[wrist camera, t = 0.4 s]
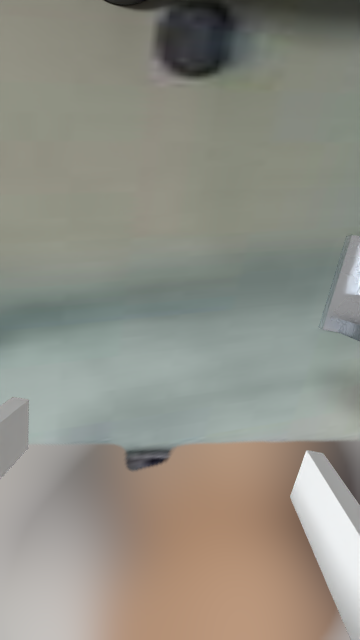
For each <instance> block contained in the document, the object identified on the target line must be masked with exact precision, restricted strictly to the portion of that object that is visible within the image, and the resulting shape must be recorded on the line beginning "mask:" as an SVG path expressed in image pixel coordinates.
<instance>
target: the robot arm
mask: <svg viewBox="0 0 360 640" xmlns="http://www.w3.org/2000/svg"><path fill="white" fill-rule="evenodd" d="M107 1H109V2H112V3H116V4H134V3H139V2H142V1H144V0H107ZM28 420H29V400H28V399H22V398H17V397H12V398H10V399H9V400H8V401H6V402H5V403H4V404H2V405H1V406H0V479H1V478H2V477H3V476H4V475H5V473H6V472H7V471H8V470H9V469H10V468H11V467H12V466H13V465H14V464H15V462H16V461H17V460H18V459H19V458H20V457H21V456H22V454H24V452H25V451H26V450H27V449H28ZM290 498H291V500H292V503H293V505H294V507H295V510H296V512H297V514H298V517H299V519H300V521H301V524H302V526H303V528H304V531H305V533H306V535H307V538H308V540H309V543H310V545H311V547H312V549H313V552H314V554H315V557H316V559H317V561H318V564H319V566H320V569H321V571H322V573H323V575H324V578H325V580H326V583H327V585H328V587H329V589H330V592H331V594H332V597H333V599H334V602H335V604H336V606H337V608H338V611H339V613H340V616H341V618H342V620H343V623H344V625H345V628H346V630H347V632H348V635H349V637H350V639H351V640H360V505H359V504H358V502H357V501H356V500H355V498H354V497H353V496H352V494H351V492H350V491H349V490H348V488H347V487H346V485H345V484H344V482H343V481H342V480H341V478H340V477H339V475H338V474H337V472H336V471H335V470H334V468H333V467H332V465H331V464H330V463H329V461H328V460H327V458H326V457H325V455H324V454H323V453H319V452H313V451H308V450H307V451H306V453H305V456H304V459H303V462H302V465H301V468H300V471H299V473H298V476H297V479H296V482H295V484H294V487H293V490H292V493H291V496H290Z"/></svg>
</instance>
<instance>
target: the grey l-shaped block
mask: <svg viewBox="0 0 360 640" xmlns="http://www.w3.org/2000/svg"><path fill="white" fill-rule="evenodd" d="M319 328H320V329H323V330H328V331H334V332H339V333H342V334H344V335H346V336H349V337H351V338H353V339H356V340H358V341H360V236H356V235H349V236H346V239H345V242H344V246H343V249H342V252H341V256H340V259H339V262H338V265H337V269H336V272H335V275H334V278H333V282H332V285H331V288H330V292H329V295H328V298H327V301H326V305H325V308H324V311H323V315H322V318H321V321H320V324H319Z"/></svg>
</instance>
